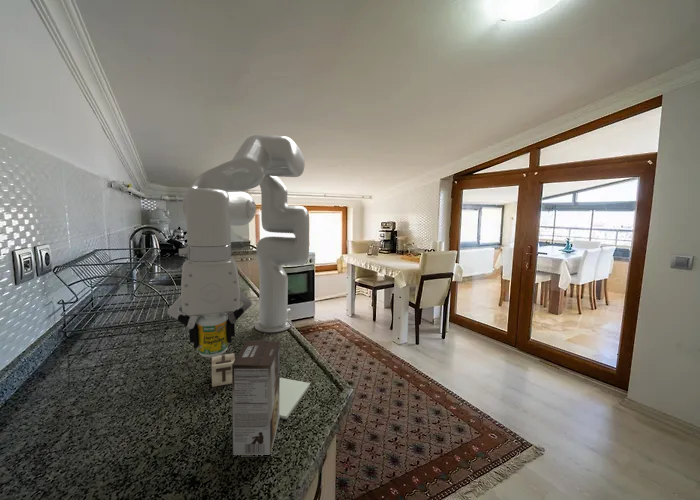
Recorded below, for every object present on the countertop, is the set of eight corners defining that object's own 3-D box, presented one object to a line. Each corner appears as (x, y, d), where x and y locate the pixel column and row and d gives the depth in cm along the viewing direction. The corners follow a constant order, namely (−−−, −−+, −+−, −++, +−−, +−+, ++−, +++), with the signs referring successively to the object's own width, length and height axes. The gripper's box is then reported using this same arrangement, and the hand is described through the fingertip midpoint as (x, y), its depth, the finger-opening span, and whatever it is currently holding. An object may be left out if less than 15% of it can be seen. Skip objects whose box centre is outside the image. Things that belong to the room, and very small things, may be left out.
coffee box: (246, 419, 57) (246, 339, 55) (280, 418, 57) (281, 339, 55) (231, 458, 48) (230, 364, 46) (271, 457, 48) (272, 364, 46)
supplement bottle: (224, 343, 63) (223, 300, 62) (230, 353, 59) (229, 307, 57) (196, 348, 60) (195, 303, 59) (200, 360, 56) (198, 312, 54)
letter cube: (212, 376, 71) (211, 355, 71) (234, 372, 73) (234, 352, 73) (212, 387, 67) (211, 366, 66) (235, 383, 69) (235, 362, 68)
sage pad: (263, 376, 72) (263, 374, 72) (310, 385, 69) (310, 383, 69) (232, 407, 60) (232, 404, 60) (286, 419, 57) (286, 416, 57)
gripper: (154, 259, 50) (160, 359, 52) (259, 255, 57) (260, 343, 60) (160, 252, 56) (165, 341, 59) (253, 249, 64) (254, 329, 66)
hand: (213, 341), depth 59 cm, fingers closed on supplement bottle, 5 cm apart
